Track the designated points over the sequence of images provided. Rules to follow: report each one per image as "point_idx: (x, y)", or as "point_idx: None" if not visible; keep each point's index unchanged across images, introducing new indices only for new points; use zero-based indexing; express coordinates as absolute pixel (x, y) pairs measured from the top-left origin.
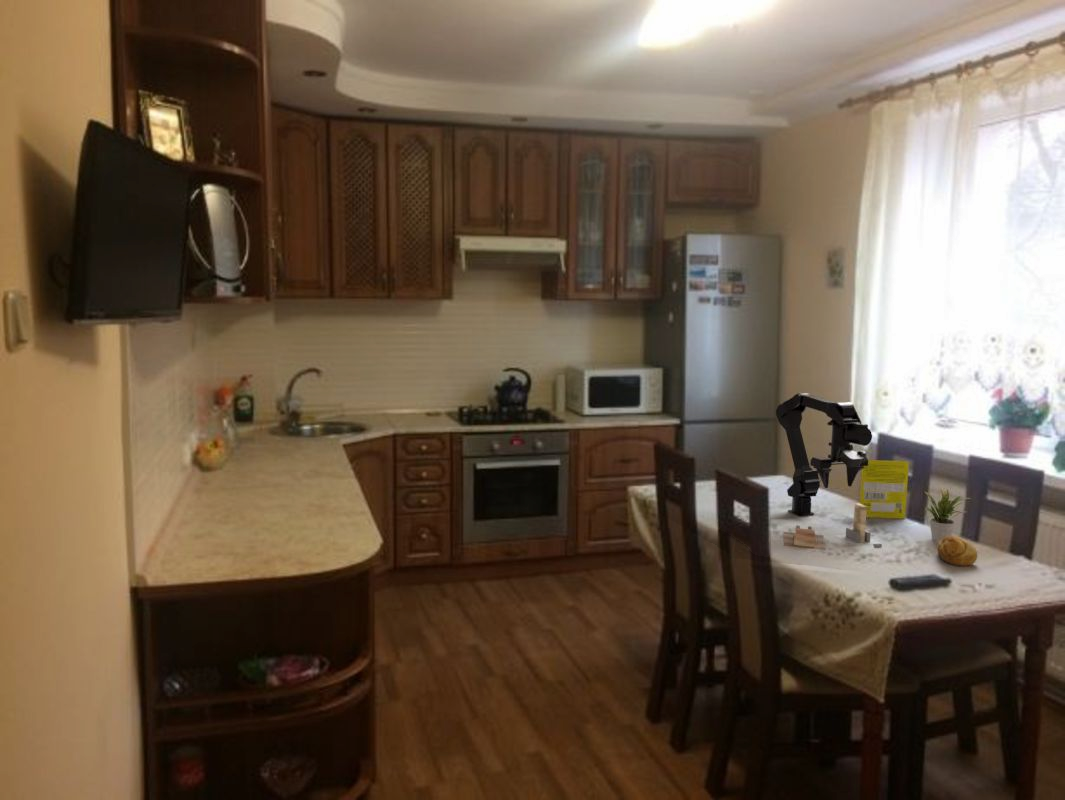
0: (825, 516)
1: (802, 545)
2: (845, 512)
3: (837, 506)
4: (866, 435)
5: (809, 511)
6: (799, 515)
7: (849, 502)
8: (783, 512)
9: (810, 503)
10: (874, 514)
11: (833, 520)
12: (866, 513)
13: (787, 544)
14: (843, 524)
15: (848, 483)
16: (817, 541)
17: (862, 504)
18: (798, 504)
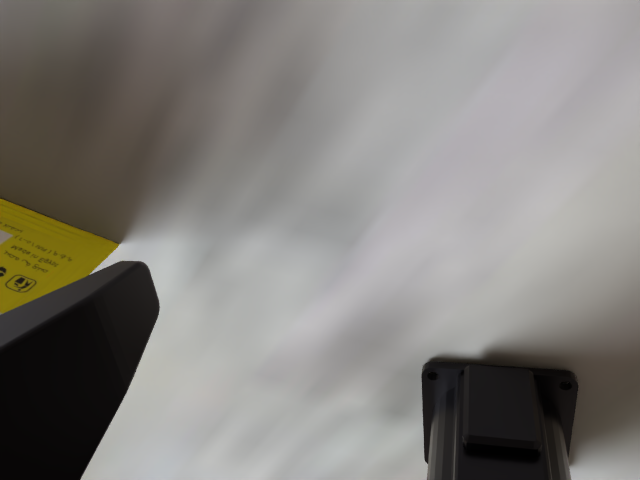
0: (358, 314)
1: None
2: (165, 345)
3: (157, 443)
4: None
5: (481, 379)
6: (568, 373)
7: None
8: (605, 468)
9: (475, 432)
10: (3, 214)
11: (361, 215)
12: (53, 237)
13: None
14: (348, 91)
15: (134, 336)
16: None
17: (41, 289)
18: (562, 465)
